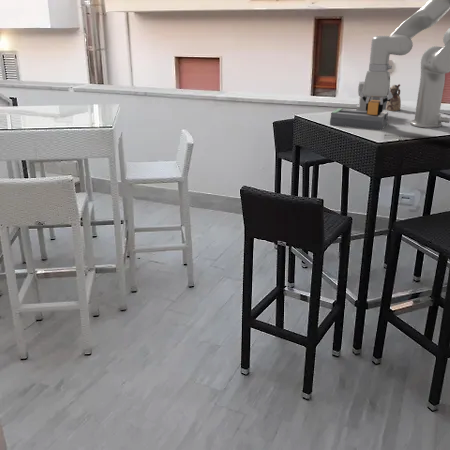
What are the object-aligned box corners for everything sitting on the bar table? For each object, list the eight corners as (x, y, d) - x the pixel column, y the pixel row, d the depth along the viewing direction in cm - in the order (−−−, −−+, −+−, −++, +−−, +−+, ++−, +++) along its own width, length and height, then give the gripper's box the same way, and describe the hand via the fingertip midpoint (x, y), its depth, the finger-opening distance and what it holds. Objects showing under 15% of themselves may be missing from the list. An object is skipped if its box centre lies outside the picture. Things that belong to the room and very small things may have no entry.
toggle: (379, 117, 210) (381, 100, 207) (376, 120, 205) (378, 102, 202) (370, 116, 212) (371, 99, 209) (366, 119, 207) (368, 102, 204)
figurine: (382, 108, 243) (385, 83, 238) (395, 107, 245) (398, 83, 240) (389, 111, 237) (392, 85, 232) (402, 110, 238) (406, 85, 233)
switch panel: (387, 124, 212) (388, 111, 210) (381, 129, 203) (382, 116, 201) (337, 119, 222) (338, 107, 219) (329, 124, 213) (330, 112, 211)
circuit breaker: (388, 118, 223) (392, 84, 217) (356, 117, 226) (359, 83, 220) (387, 114, 230) (391, 81, 224) (355, 113, 232) (358, 81, 226)
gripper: (401, 68, 199) (395, 113, 207) (360, 66, 207) (356, 109, 214) (397, 70, 193) (392, 116, 201) (355, 68, 201) (351, 113, 208)
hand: (373, 112), depth 207 cm, fingers closed on toggle, 4 cm apart
